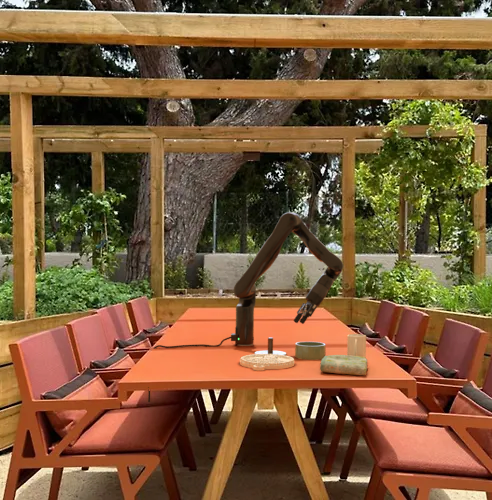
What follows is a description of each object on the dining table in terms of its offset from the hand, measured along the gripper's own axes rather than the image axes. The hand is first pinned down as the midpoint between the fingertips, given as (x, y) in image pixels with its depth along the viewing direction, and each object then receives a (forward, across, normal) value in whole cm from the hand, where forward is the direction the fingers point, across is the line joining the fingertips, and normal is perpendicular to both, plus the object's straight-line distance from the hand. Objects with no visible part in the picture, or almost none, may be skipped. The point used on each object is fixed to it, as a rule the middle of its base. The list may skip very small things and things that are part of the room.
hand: (298, 322), depth 283 cm
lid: (+20, -1, -2) cm, 20 cm away
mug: (+4, +26, +24) cm, 36 cm away
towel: (+11, +39, +15) cm, 44 cm away
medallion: (+27, +21, -8) cm, 35 cm away
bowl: (+12, +10, +11) cm, 19 cm away
